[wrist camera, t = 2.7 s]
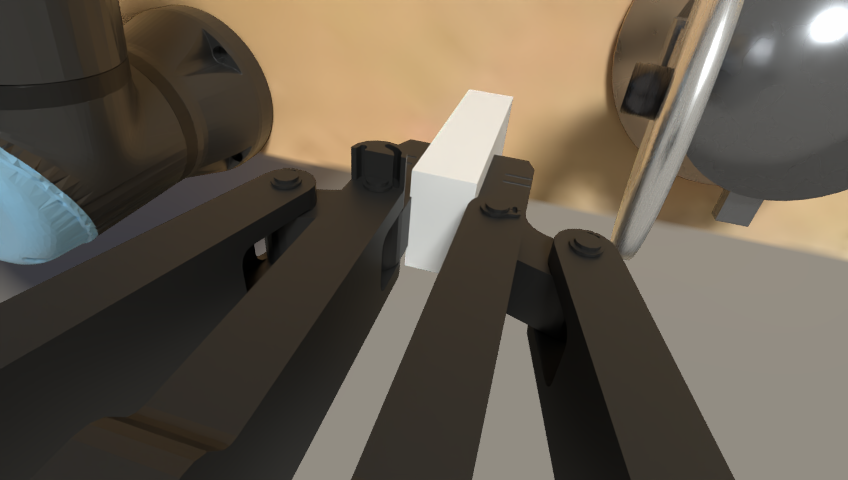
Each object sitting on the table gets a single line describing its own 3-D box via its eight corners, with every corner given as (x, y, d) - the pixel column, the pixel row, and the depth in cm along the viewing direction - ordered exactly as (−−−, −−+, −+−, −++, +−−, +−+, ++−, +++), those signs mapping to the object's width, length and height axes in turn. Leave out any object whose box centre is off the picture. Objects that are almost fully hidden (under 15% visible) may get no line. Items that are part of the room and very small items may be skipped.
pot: (580, 157, 38) (581, 207, 32) (670, -136, 28) (699, -156, 21) (835, 205, 35) (897, 272, 28) (1051, -106, 24) (1238, -119, 17)
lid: (640, 182, 29) (600, 171, 30) (743, -77, 22) (686, -82, 22) (613, 323, 19) (552, 301, 19) (799, -91, 11) (684, -101, 12)
